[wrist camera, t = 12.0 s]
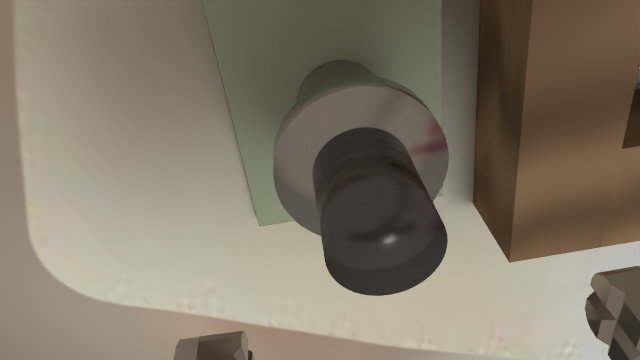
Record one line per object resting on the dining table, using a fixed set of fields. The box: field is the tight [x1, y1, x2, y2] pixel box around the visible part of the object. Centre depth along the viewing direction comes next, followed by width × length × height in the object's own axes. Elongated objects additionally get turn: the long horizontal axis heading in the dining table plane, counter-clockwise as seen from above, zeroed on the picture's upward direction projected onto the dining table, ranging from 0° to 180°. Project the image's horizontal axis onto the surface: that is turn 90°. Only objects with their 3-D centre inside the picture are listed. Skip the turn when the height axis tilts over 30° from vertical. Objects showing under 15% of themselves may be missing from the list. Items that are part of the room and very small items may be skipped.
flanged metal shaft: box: [273, 60, 448, 296], centre depth 19 cm, size 6×6×11 cm
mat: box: [202, 0, 443, 226], centre depth 24 cm, size 13×10×1 cm
